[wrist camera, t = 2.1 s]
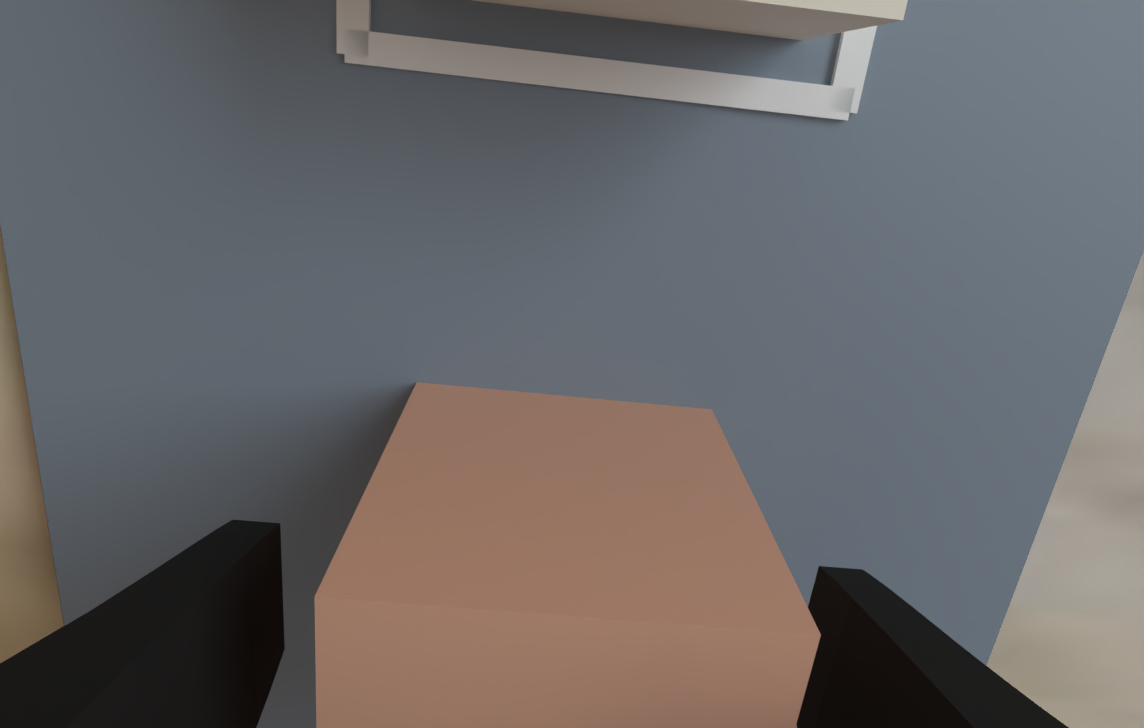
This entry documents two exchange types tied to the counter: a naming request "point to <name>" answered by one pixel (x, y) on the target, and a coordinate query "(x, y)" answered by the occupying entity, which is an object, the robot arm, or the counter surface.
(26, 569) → the counter surface
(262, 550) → the robot arm
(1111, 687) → the counter surface
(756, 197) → the board
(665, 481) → the terracotta block
